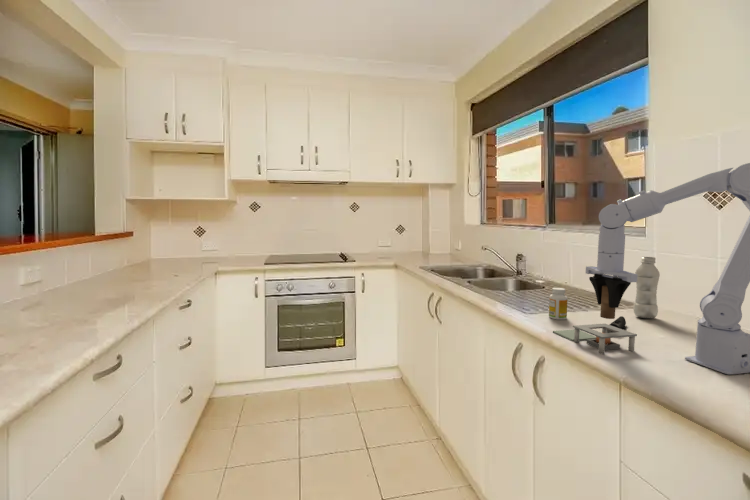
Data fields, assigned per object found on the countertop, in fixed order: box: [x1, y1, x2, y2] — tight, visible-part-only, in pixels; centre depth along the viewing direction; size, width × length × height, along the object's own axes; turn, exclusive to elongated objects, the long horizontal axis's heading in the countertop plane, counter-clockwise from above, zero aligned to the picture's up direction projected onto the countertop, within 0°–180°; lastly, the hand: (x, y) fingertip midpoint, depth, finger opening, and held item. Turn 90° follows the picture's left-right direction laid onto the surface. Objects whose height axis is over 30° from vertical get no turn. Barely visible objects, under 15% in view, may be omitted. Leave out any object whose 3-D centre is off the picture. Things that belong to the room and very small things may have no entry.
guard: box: [572, 323, 638, 355], centre depth 100 cm, size 10×10×4 cm
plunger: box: [595, 336, 612, 345], centre depth 100 cm, size 3×3×2 cm
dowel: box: [599, 285, 616, 320], centre depth 99 cm, size 3×3×8 cm
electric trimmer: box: [607, 315, 627, 333], centre depth 114 cm, size 4×16×3 cm, turn 138°
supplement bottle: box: [548, 287, 568, 321], centre depth 127 cm, size 5×5×10 cm
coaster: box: [552, 328, 596, 342], centre depth 108 cm, size 8×8×1 cm
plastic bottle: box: [632, 256, 660, 319], centre depth 126 cm, size 6×7×20 cm
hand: (607, 305), depth 99 cm, fingers closed on dowel, 3 cm apart
